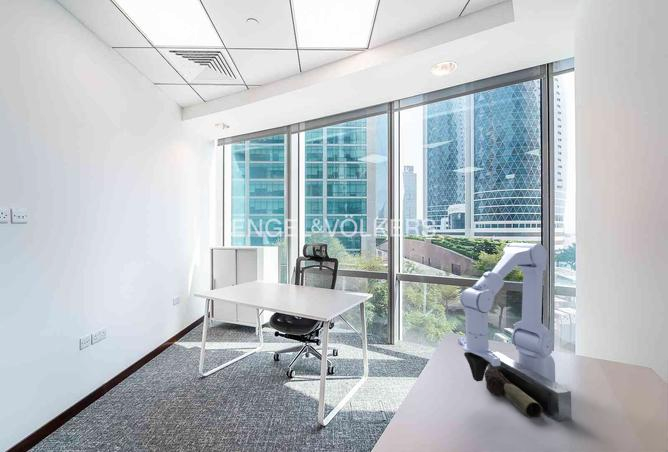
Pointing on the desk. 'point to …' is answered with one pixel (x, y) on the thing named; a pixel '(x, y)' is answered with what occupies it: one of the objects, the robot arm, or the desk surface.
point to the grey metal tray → (537, 388)
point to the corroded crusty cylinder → (511, 393)
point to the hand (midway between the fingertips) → (478, 379)
